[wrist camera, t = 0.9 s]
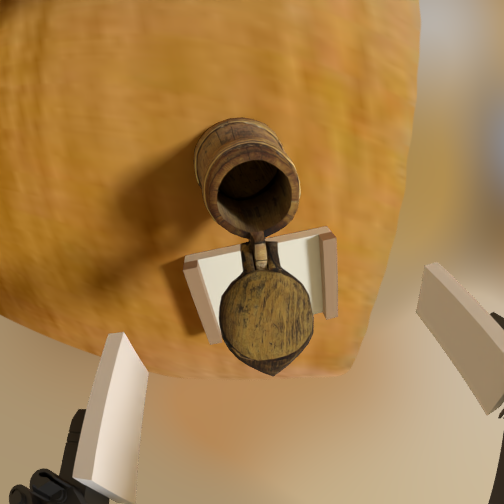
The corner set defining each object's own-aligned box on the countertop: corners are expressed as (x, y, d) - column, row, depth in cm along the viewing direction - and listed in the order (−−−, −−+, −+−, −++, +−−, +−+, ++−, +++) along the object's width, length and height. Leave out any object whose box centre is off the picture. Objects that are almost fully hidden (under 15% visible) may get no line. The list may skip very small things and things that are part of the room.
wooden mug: (203, 248, 33) (199, 385, 17) (190, 121, 26) (152, 152, 10) (284, 241, 33) (341, 367, 18) (283, 116, 27) (375, 142, 11)
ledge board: (185, 255, 33) (182, 270, 30) (326, 226, 33) (336, 237, 30) (209, 328, 38) (210, 344, 36) (330, 302, 38) (337, 316, 36)
